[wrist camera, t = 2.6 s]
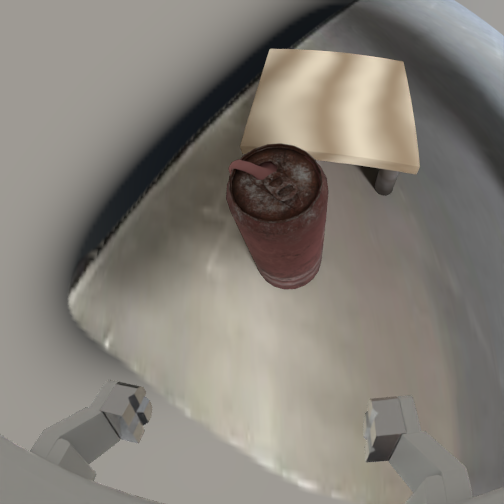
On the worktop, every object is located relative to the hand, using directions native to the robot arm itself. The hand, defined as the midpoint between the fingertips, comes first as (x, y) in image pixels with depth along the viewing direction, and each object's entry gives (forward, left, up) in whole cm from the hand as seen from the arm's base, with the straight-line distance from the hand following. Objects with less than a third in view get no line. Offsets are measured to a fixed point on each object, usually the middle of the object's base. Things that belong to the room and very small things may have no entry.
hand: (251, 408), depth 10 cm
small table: (-1, -27, -18) cm, 33 cm away
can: (+2, -12, -18) cm, 22 cm away
